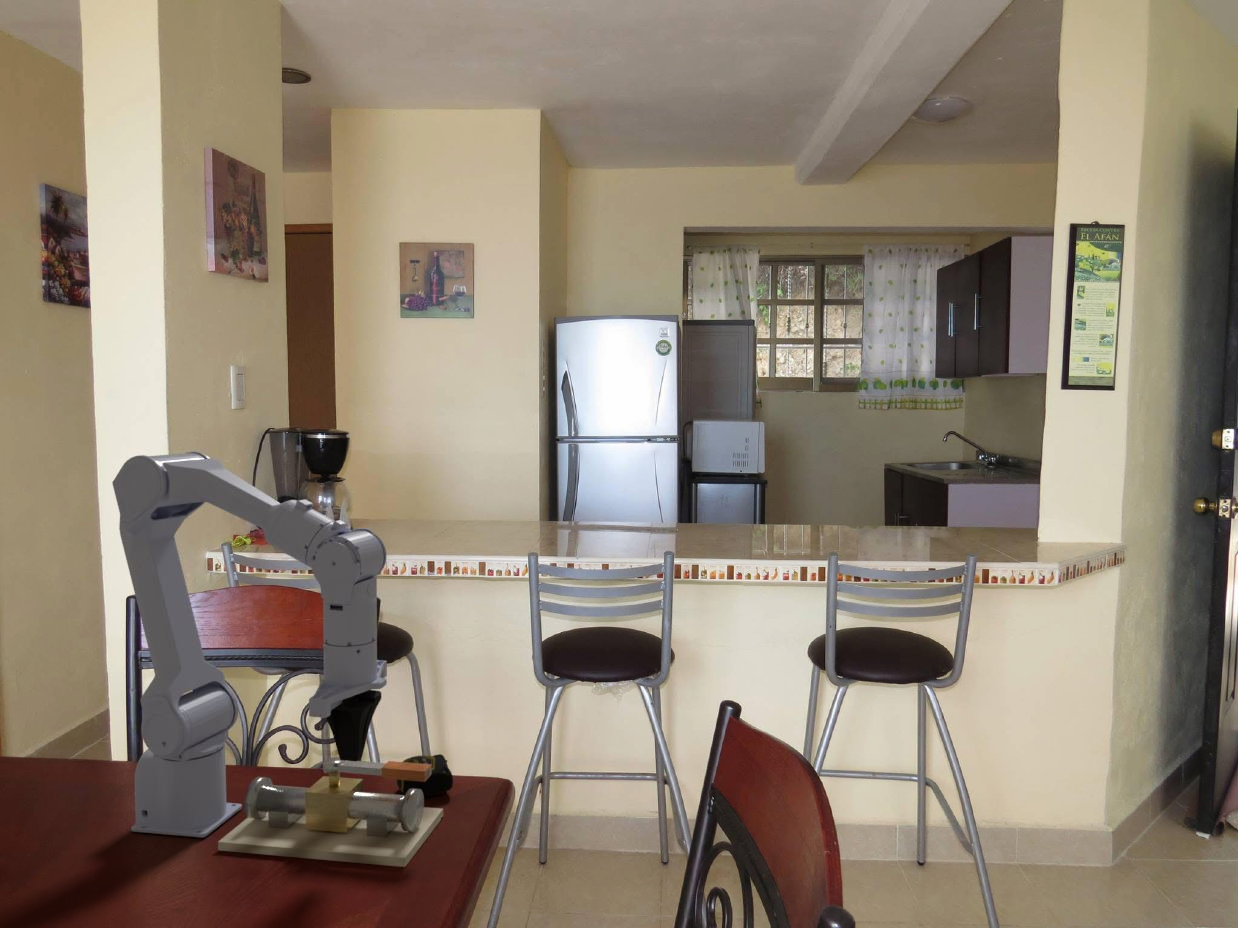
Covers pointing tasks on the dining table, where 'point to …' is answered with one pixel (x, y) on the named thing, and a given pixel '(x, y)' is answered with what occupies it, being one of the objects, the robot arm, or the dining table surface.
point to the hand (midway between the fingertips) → (351, 758)
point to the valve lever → (379, 769)
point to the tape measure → (436, 782)
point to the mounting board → (331, 841)
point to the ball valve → (334, 806)
